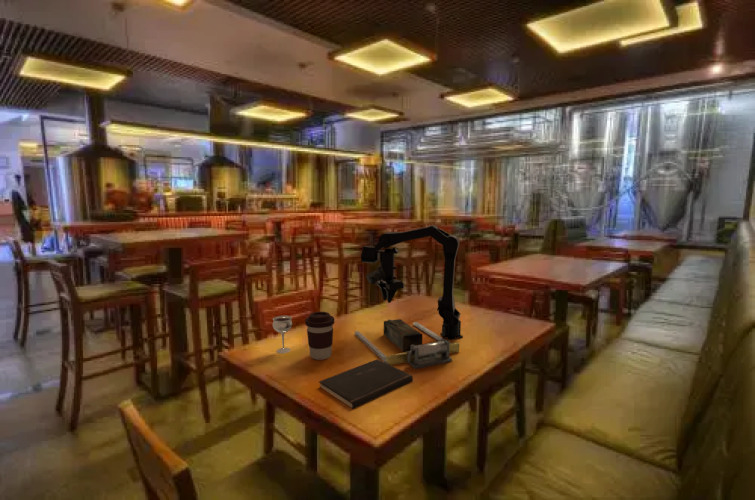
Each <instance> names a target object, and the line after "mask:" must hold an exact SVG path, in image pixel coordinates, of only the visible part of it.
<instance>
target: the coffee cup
mask: <svg viewBox="0 0 755 500" xmlns="http://www.w3.org/2000/svg"><path fill="white" fill-rule="evenodd" d="M304 323H305V326H306V327H307V329H306V334H307V342H308V343H307V344H308V346H309V347H308V349H309V355H310V358H311V359H314V360H316V361H317V360H318V361H319V360H320V361H323V360H327V359H329V358H330V357H331V356H332V350H333V349H332V347H333V346H332V345H333V340H334V339H333V338H334V337H333V336H334V328H333V325H334V324H335V317H334V316H333V315H331V314H330V313H329V312H327V311H314V312H311V313H309V316H307V317H306V318H305V320H304Z"/></svg>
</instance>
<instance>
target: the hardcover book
mask: <svg viewBox="0 0 755 500" xmlns="http://www.w3.org/2000/svg"><path fill="white" fill-rule="evenodd" d="M411 382H413V375H412V374H410V373H408V372H406V371H404V370H402V369H400V368H397V367H395V366H394V365H389V364H387V363H385V362H383V361H382V360H381V359H378V358H376V359H374V360H372V361H369V362H366V363H363V364H361V365H358V366H356V367H353V368H350V369H348V370H345V371H343V372H340V373H338V374H335V375H333V376H332V375H331V376H329V377H327V378H324V379H322V380H320V381H318V383H319V386H320V388H321V389H323V390H324V391H325V392H327V393H328V394H330V395H332V396H333V397H335V398H336V399H338V400H339V401H341V402H342V403H344V404H345V405H347V406H348V407H350V409H351V408H352V410H354V409H356V408H358V407H361V406H362V405H364V404H367V403H368V402H371V401H373V400H375V399H377V398H379V397H382V396H384V395H386V394H388V393H390V392H392V391H395V390H396V389H398V388H401V387H402V386H404V385H407V384H410V383H411Z"/></svg>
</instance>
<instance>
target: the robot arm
mask: <svg viewBox="0 0 755 500" xmlns="http://www.w3.org/2000/svg"><path fill="white" fill-rule="evenodd" d="M427 237H431V238H433V239H434V240H435V241H436V242H438V243H439V244H440V245H441V246H442V250H443V251H442V252H443V257H444V268H443V270H444V272H443V287H442V288H443V290H442V296H438V299H437V309H436V311H438V315H439V317H441V318H442V320H443V321H442V325H441V332H440V334H439V335H440V336H441V337H443V338H444V339H445V338H446V340H448V341H449V340H450V341H451V340H455V339H460V338H461V339H462V338H463V336H464V335H462V334H461V330H462V329H461V328H462V327H461V326H462V324H461V323H462V321H461V320H460V317H461V313H460V311H459V310H458V309H457V308H456V303H455V296H454V285H455V283H454V282H455V272H456V271H455V267H456V258H457V254H458V251H459V248H460V242H461V241H460V238H459V236H457V235H455V234H449V232H446V231H445V230H443V229H441V228H440V227H438V226H437V225H436V224H435V225H433V224H431V225H430V226H426V227H420V228H416V229H411V230H406V231H387V232H385V233H382V234H381V235H380V236H378V242H377V243H376V245H375V246H369V245H364V246H362V251H361V254H360V261H361V263H367V264H377V262H379V265H378V266H377V270H373V271H371V272H369V273H368V274H365V276H366V279H367V282H368V283H369V284H371V285H374V284H375V285H377V286H378V287H379V289H380V293H381V296H382V300H383V301H387V303H388V304H390V303H391V302H392V301H393V299H394V297H395V295H396V293H397V291H398V290H401V289H403V290H404V288H405V283H404V282H403V281H402V280H400V279H397V276H395V270H397V266H396V265H395V255H397V254H398V253H400V250H399V249H398V248H397V247H396V245H398V244H401V243H403V242H407V241H413V240H418V239H423V238H427ZM393 246H394V247H393ZM391 247H393V248H391ZM383 249H384V250H383ZM391 304H392V303H391Z"/></svg>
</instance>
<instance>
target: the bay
mask: <svg viewBox="0 0 755 500" xmlns="http://www.w3.org/2000/svg"><path fill="white" fill-rule="evenodd" d="M412 322H413V321H412ZM412 325H413V326H414V327H416V328H418V330H420V331H422V332H424V333H425V334H427V335H428V336H430V338H432V339H434V340H436V342H438V341H442V339H444V337H443V336H441V335H438V334H437V333H436V332H434V331H432V330H431V329H429V328H427V327H425V326H424V325H422V324H420V323H419V322H418V321H414V322H413V324H412ZM354 335H355V336H356V337H357V338H358V339H359V340H360V341H361V342H362V343H363V344H365V346H366V347H367V348H368V349H369V350H371V351H372V352H373V353H374V354H375V355H376V356H377V357H378V358H379V360H381V361H383V362H385V363H387V364H389V365H391V366H394V365H399V364H404V363H407V362H406V352H400V353H394V354H389V355H386V354H385V353H384V352H382V351H381V350H380V349H379V348H378V347H377V346H375V344H374V343H372V342H371V341H370V340H369V339H368V338H367V337H366V336H365V335H363V334H362V333H361V332H360V331H359V330H356V331H354ZM459 352H460V343H459V342H452V343H451V342H450V345H449V354H453V353H454V354H455V353H459Z"/></svg>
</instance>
